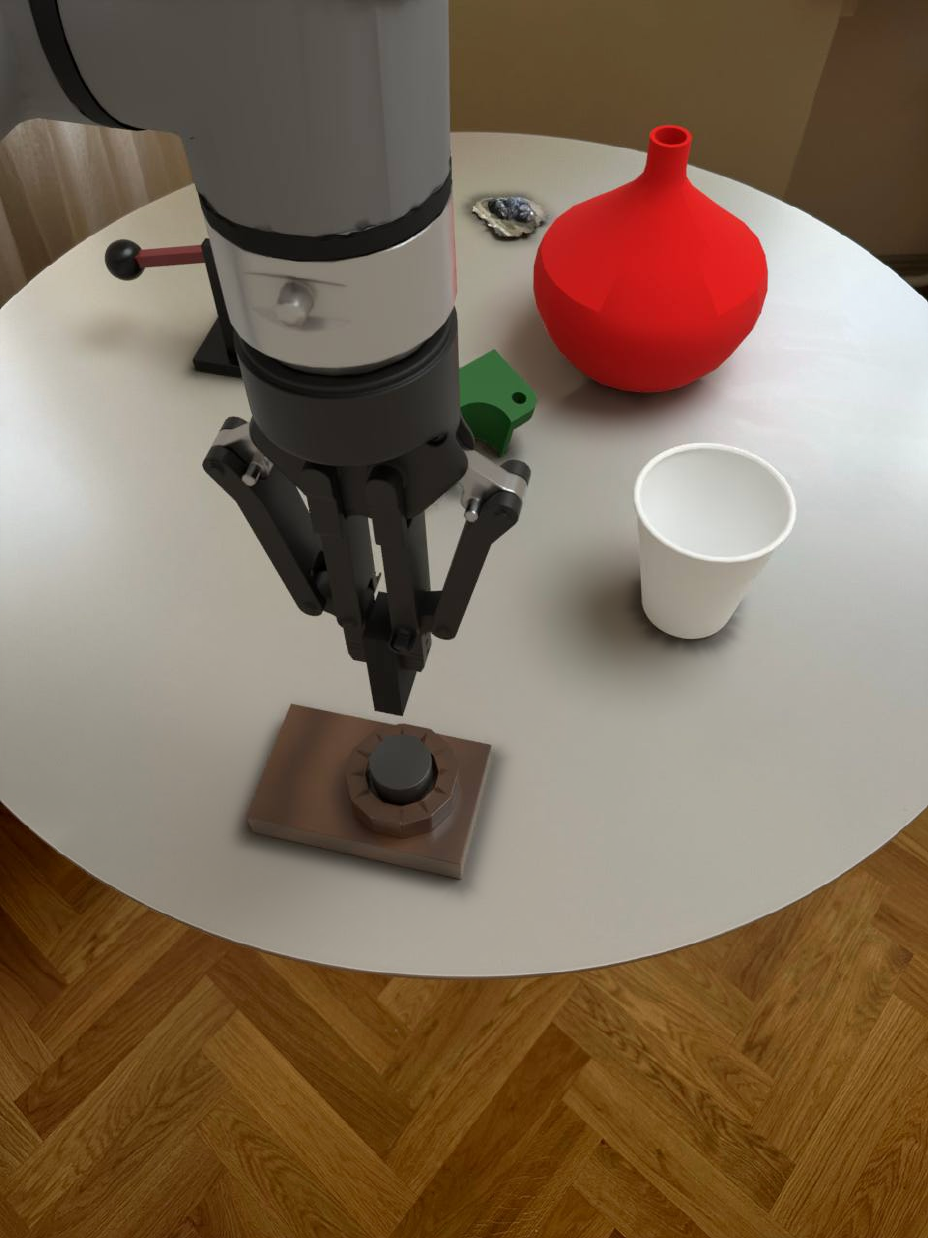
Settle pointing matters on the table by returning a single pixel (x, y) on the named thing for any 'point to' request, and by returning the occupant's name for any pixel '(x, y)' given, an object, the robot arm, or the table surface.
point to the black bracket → (217, 329)
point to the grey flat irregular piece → (510, 215)
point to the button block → (368, 793)
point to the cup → (706, 533)
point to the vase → (650, 277)
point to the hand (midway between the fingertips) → (395, 691)
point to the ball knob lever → (146, 258)
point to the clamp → (494, 399)
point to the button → (401, 768)
